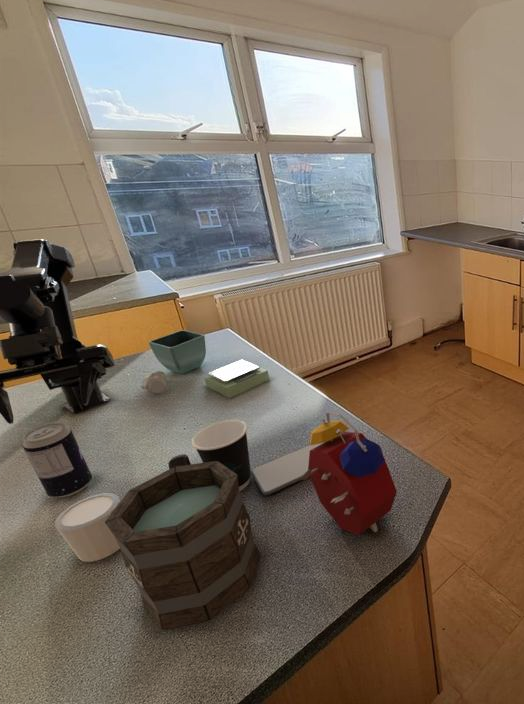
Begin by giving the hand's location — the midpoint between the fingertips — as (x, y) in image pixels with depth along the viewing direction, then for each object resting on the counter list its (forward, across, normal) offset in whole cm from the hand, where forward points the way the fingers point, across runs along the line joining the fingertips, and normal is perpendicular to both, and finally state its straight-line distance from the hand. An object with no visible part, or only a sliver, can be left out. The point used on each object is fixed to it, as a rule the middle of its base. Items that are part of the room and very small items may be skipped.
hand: (49, 413), depth 74 cm
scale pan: (-6, +28, +19) cm, 35 cm away
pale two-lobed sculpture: (-9, +12, +27) cm, 31 cm away
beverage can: (+13, 0, +4) cm, 14 cm away
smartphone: (+26, +33, -9) cm, 43 cm away
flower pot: (-15, +19, +32) cm, 40 cm away
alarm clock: (+39, +36, -21) cm, 57 cm away
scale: (-3, +29, +20) cm, 35 cm away
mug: (+35, +16, -18) cm, 43 cm away
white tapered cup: (+26, +5, -8) cm, 28 cm away
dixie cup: (+24, +22, -7) cm, 34 cm away
